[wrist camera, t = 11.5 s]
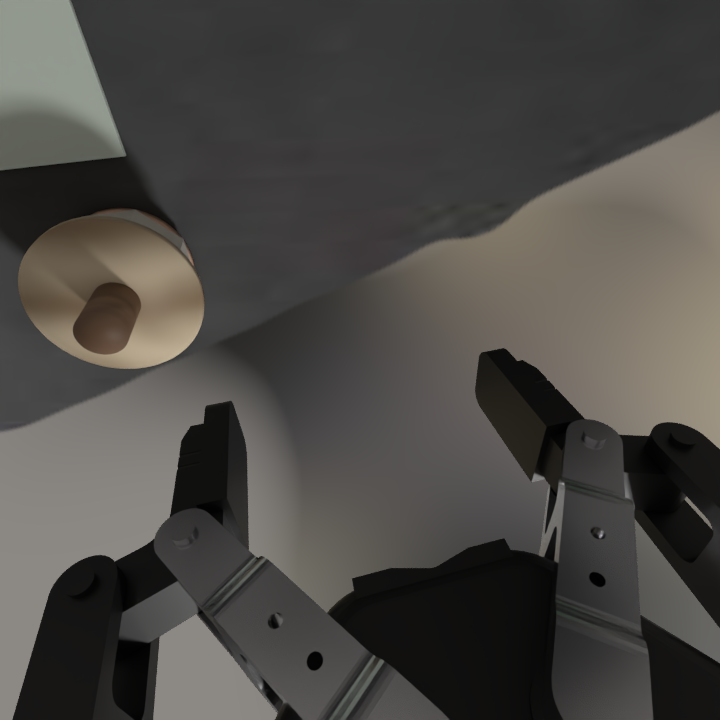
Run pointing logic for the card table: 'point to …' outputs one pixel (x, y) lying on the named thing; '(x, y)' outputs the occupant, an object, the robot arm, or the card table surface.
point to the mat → (50, 89)
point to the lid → (111, 292)
